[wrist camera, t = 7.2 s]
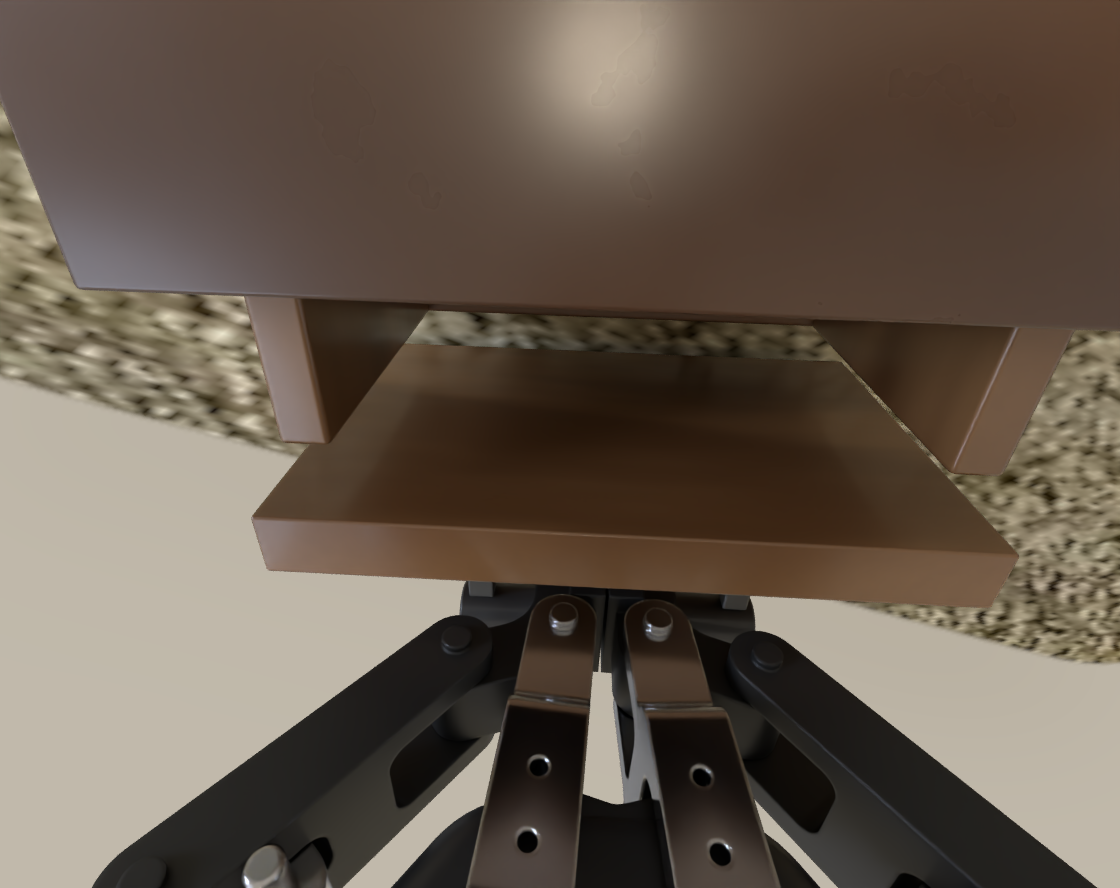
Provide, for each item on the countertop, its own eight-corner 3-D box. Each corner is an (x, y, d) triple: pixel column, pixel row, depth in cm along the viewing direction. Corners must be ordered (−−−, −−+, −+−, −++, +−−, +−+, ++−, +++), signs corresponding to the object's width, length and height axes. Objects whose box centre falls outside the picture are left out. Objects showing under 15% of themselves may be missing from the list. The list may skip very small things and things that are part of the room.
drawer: (793, 525, 19) (903, 763, 12) (411, 506, 19) (315, 728, 13) (1048, -339, 10) (2106, -1330, 3) (299, -347, 10) (-309, -1257, 3)
